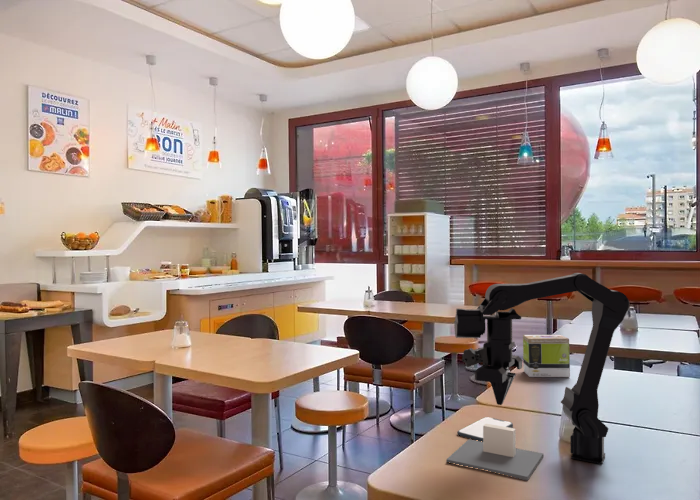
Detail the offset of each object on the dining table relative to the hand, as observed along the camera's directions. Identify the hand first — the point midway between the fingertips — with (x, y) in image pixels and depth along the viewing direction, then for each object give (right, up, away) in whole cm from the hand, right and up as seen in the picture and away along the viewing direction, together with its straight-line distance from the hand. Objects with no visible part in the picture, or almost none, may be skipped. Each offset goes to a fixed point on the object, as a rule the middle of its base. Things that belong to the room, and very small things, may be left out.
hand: (499, 404), depth 128 cm
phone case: (+1, -13, +17) cm, 21 cm away
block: (0, -11, -1) cm, 11 cm away
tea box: (+39, -12, +79) cm, 89 cm away
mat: (-2, -12, -3) cm, 12 cm away
